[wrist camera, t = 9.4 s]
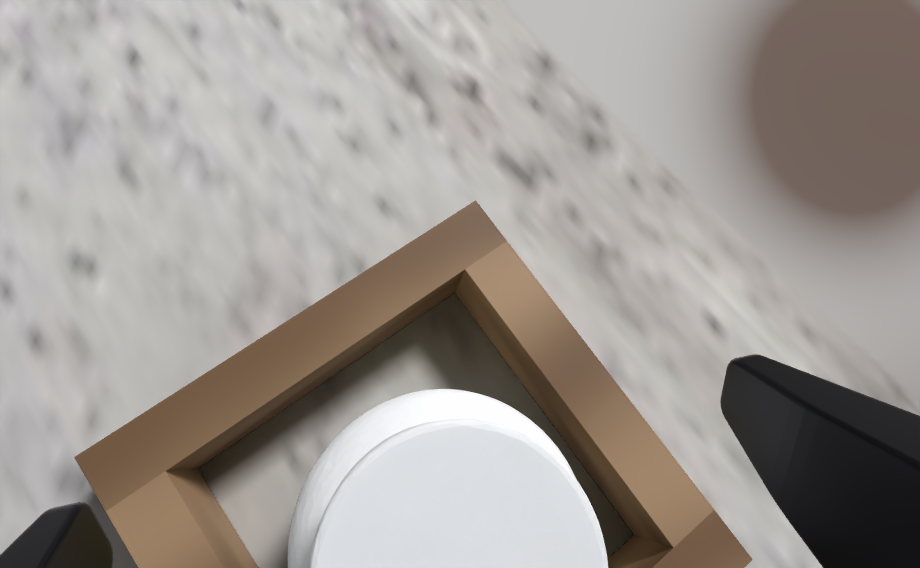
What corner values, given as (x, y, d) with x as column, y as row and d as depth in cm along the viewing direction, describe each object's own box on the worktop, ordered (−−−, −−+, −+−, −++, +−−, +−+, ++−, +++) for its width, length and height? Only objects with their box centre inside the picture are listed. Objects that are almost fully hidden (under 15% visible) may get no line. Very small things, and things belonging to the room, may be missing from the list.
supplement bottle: (283, 508, 16) (152, 571, 7) (425, 374, 18) (468, 284, 9) (416, 661, 16) (460, 952, 6) (551, 509, 17) (744, 568, 8)
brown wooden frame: (702, 545, 18) (752, 560, 15) (363, 867, 14) (359, 948, 12) (464, 231, 19) (475, 200, 17) (119, 457, 16) (74, 457, 14)
